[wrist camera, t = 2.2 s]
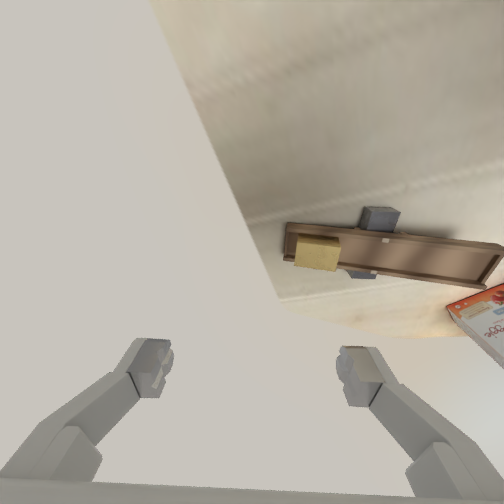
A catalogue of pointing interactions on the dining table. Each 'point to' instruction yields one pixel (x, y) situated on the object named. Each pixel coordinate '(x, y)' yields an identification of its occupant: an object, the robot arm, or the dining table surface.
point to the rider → (317, 251)
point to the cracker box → (483, 320)
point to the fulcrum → (376, 229)
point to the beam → (406, 255)
